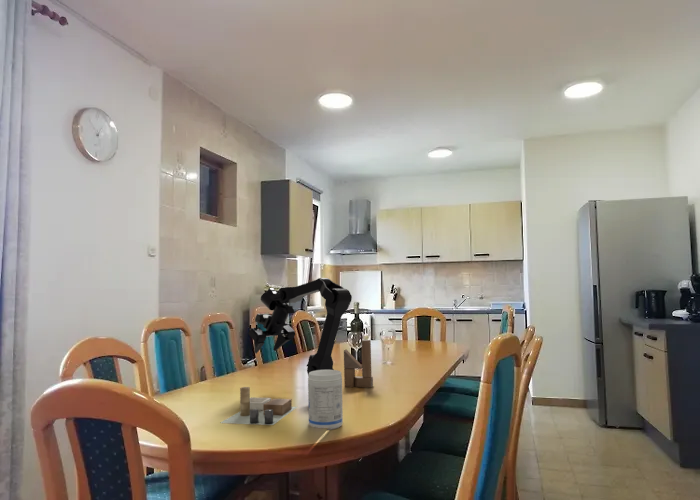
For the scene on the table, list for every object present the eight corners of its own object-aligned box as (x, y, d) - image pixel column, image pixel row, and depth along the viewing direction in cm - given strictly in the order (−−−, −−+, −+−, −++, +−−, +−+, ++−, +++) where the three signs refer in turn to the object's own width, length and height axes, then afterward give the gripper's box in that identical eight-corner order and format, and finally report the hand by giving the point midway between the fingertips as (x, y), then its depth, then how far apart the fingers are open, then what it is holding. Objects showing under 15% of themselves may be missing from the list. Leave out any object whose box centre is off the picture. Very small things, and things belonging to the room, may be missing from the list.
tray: (271, 405, 153) (271, 397, 154) (262, 411, 147) (262, 403, 147) (251, 405, 155) (251, 397, 155) (241, 410, 148) (241, 402, 148)
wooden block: (346, 385, 189) (345, 339, 190) (373, 386, 186) (371, 339, 188) (344, 387, 185) (343, 340, 187) (371, 387, 183) (369, 340, 184)
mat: (297, 409, 151) (297, 406, 151) (272, 427, 131) (272, 424, 131) (251, 407, 155) (251, 405, 155) (219, 425, 134) (219, 422, 135)
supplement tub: (309, 421, 137) (309, 369, 138) (342, 420, 137) (341, 368, 138) (307, 431, 127) (306, 375, 128) (343, 430, 127) (341, 374, 128)
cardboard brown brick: (291, 408, 149) (291, 399, 149) (282, 415, 141) (282, 405, 141) (273, 408, 150) (273, 398, 150) (263, 414, 142) (263, 404, 143)
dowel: (251, 414, 144) (251, 387, 144) (247, 416, 141) (247, 388, 142) (242, 413, 144) (242, 386, 145) (238, 416, 141) (238, 388, 142)
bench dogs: (274, 422, 134) (274, 409, 134) (271, 424, 132) (271, 411, 132) (252, 421, 135) (252, 408, 136) (248, 423, 133) (248, 410, 133)
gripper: (285, 304, 189) (272, 337, 193) (247, 306, 175) (233, 341, 179) (302, 320, 182) (288, 353, 187) (263, 323, 168) (249, 359, 173)
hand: (265, 351), depth 182 cm, fingers open, 9 cm apart
